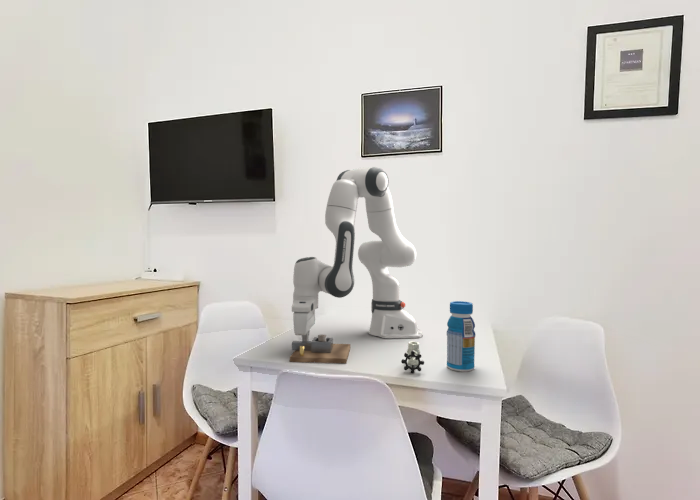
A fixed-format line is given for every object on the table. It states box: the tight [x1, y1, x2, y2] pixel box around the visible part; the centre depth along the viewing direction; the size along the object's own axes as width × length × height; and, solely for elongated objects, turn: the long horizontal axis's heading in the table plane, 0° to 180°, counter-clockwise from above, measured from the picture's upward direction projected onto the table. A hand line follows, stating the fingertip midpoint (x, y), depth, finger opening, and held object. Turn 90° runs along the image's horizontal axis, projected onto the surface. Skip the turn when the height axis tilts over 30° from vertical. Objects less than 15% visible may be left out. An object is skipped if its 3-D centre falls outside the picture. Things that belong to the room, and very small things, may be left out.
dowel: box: [300, 346, 304, 356], centre depth 126 cm, size 1×1×4 cm
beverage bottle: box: [446, 300, 476, 373], centre depth 119 cm, size 8×8×20 cm
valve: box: [400, 341, 425, 374], centre depth 120 cm, size 7×7×12 cm
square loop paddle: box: [291, 336, 334, 353], centre depth 133 cm, size 13×6×4 cm, turn 86°
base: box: [289, 334, 351, 364], centre depth 133 cm, size 18×18×6 cm
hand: (305, 342), depth 138 cm, fingers closed
